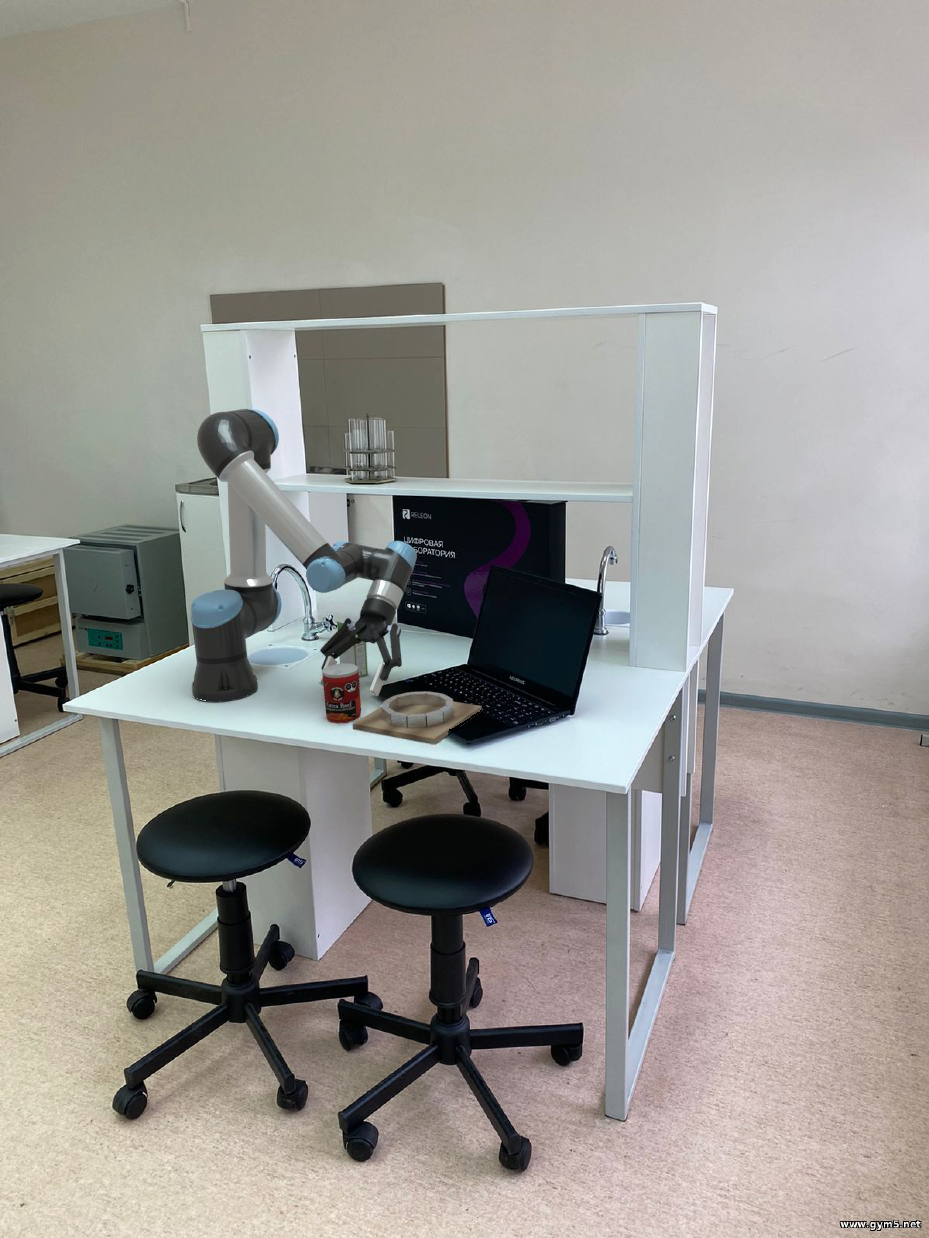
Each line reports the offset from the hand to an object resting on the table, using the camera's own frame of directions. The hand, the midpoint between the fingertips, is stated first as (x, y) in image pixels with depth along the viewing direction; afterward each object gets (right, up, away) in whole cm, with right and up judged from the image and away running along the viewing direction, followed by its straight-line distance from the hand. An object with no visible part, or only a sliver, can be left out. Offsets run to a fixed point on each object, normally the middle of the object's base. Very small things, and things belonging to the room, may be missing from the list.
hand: (347, 689), depth 204 cm
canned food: (-1, -6, +2) cm, 7 cm away
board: (+15, -6, -2) cm, 17 cm away
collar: (+15, -5, -2) cm, 16 cm away
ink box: (-2, +1, +30) cm, 30 cm away
